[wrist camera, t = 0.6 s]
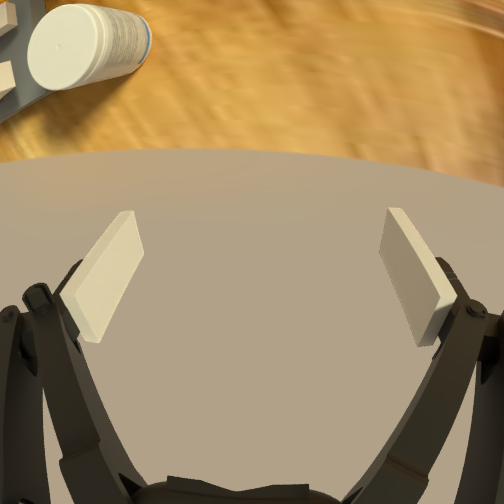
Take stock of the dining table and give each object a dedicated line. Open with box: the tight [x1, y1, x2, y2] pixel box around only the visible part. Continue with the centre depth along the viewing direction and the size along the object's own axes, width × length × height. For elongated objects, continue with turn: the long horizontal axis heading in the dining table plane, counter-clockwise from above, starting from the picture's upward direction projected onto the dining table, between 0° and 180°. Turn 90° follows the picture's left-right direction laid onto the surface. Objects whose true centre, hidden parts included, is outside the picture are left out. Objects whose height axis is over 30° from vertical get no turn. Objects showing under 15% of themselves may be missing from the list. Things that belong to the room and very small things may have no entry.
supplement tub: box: [27, 4, 152, 90], centre depth 26 cm, size 10×10×15 cm
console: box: [0, 0, 58, 124], centre depth 29 cm, size 19×16×7 cm
